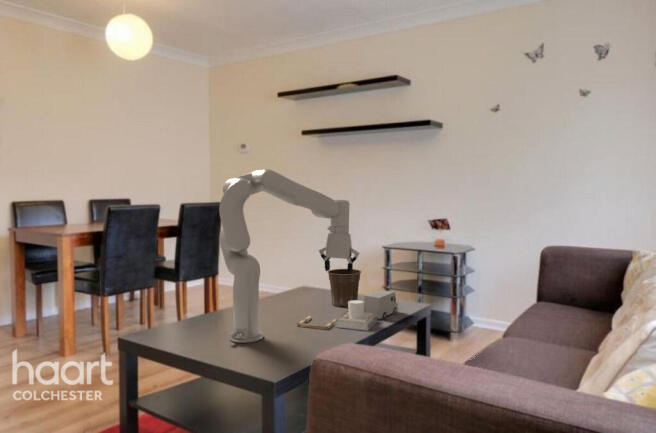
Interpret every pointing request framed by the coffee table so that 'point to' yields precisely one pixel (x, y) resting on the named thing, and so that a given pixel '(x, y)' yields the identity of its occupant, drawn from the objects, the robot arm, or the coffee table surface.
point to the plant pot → (344, 286)
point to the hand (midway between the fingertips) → (338, 271)
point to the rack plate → (356, 321)
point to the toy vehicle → (380, 303)
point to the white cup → (356, 309)
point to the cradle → (301, 324)
